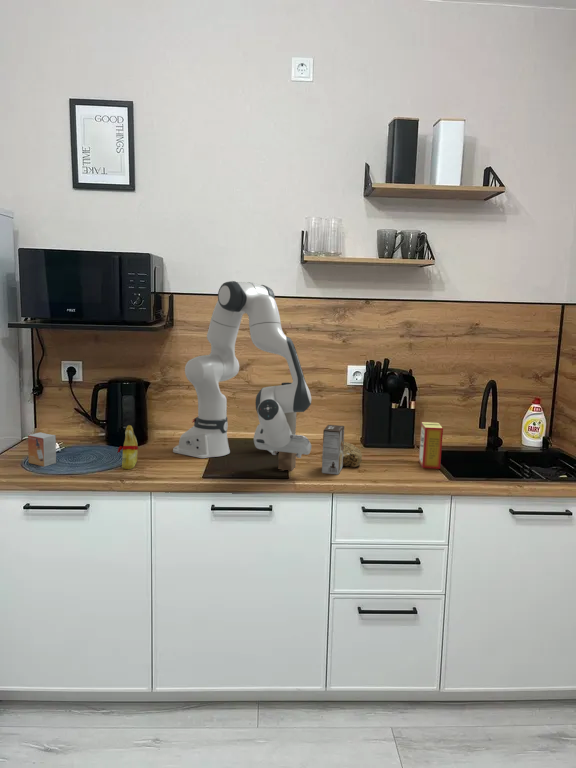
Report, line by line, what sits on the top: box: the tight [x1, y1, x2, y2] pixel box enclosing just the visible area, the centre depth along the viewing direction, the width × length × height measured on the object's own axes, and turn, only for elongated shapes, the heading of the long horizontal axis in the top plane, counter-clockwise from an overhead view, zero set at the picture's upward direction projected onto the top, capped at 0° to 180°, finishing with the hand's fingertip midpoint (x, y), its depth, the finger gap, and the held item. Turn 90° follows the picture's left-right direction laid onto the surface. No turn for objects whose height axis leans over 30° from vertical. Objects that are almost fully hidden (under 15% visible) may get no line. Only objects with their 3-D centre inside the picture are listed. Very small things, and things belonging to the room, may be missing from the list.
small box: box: [27, 432, 57, 467], centre depth 208 cm, size 8×6×10 cm
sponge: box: [343, 441, 363, 468], centre depth 224 cm, size 13×8×20 cm
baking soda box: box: [418, 421, 444, 470], centre depth 221 cm, size 10×6×16 cm
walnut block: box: [277, 451, 297, 472], centre depth 211 cm, size 5×5×8 cm
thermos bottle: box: [277, 382, 297, 453], centre depth 232 cm, size 8×8×28 cm
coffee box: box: [321, 424, 345, 475], centre depth 210 cm, size 9×6×16 cm
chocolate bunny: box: [116, 424, 139, 470], centre depth 208 cm, size 7×11×15 cm, turn 4°
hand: (286, 454), depth 210 cm, fingers open, 8 cm apart
